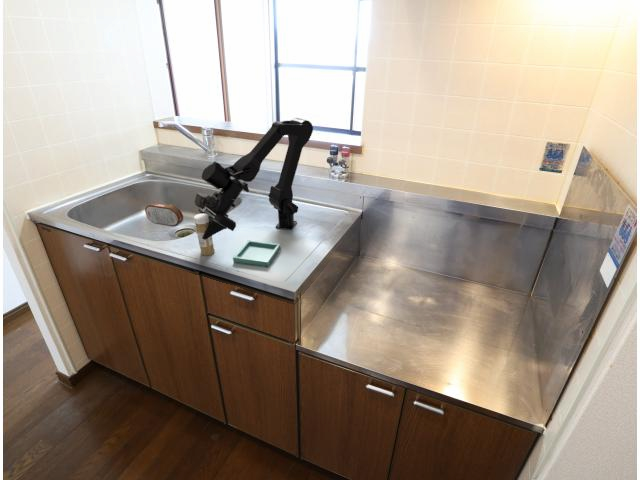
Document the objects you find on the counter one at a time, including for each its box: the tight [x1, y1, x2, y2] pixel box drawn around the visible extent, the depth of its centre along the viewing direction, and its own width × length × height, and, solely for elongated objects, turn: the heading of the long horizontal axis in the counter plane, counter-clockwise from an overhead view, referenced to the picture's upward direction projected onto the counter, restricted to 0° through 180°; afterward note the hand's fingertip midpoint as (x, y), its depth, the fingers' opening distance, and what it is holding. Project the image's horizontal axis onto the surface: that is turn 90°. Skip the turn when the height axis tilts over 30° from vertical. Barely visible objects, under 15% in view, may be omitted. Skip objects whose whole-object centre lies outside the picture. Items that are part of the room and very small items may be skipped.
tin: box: [144, 201, 184, 227], centre depth 139 cm, size 15×3×8 cm, turn 73°
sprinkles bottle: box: [193, 213, 215, 256], centre depth 120 cm, size 5×5×13 cm
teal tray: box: [232, 239, 281, 268], centre depth 121 cm, size 12×12×2 cm
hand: (200, 236), depth 119 cm, fingers closed on sprinkles bottle, 4 cm apart
